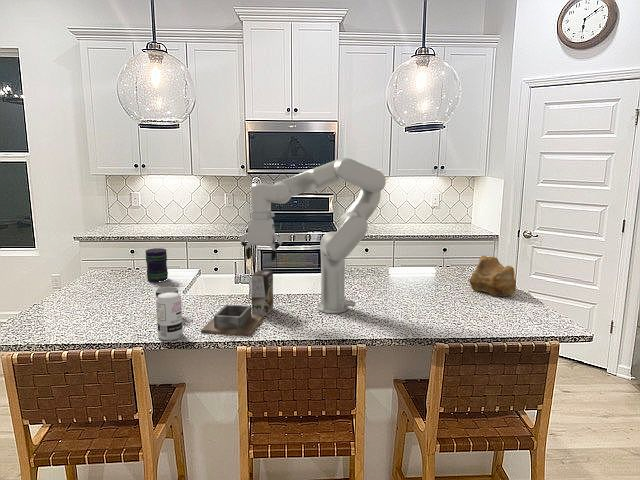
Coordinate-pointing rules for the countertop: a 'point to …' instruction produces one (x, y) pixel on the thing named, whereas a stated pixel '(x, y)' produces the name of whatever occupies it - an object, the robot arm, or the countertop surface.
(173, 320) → the supplement can
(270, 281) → the coffee box
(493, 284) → the rough brown rock
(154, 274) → the storage jar
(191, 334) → the countertop surface
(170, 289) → the coffee mug
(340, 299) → the robot arm
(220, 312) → the holder stand
